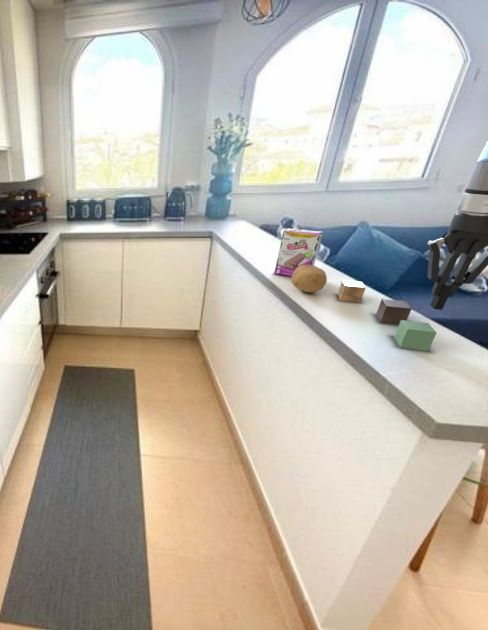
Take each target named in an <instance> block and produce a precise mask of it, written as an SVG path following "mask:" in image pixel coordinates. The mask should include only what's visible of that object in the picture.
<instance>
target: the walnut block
mask: <svg viewBox="0 0 488 630" xmlns="http://www.w3.org/2000/svg"><path fill="white" fill-rule="evenodd" d="M411 311H412V307H411V306H410V305H409V304H408V302H407V301H406V300H398V299H397V300H395V299H385V298H382V299H381V300H380V302H379V305H378V307H377V310H376V313H375V316H376V318H377V320H378V321H379V323H380V324H386V325H387V324H388V325H396V326H399V324H400V321H401V320H406V321H408V319H409V317H410V313H411Z"/></svg>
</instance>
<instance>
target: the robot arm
mask: <svg viewBox="0 0 488 630" xmlns="http://www.w3.org/2000/svg"><path fill="white" fill-rule="evenodd" d="M461 196H462V197H461V198H460V200H459V203H458V205H457V207H456V210H457V212H456V213H454V215H453V217H452V219H451V222H450V224H449V226H448V229H447V231H446V232H445V233H444V234H442V236H441V237H440V238H437V239H435V240H432V239H431V240H427V242H426V246H427V248H428V249H429V251H428V262H427V275H426V276H427V278H428V279H429V280H430V281H431V282H434V285H433V286H432V289H431V291H430V292H431V294H432V295H433V297H432V300H431V302H430V304H429V306H431V307H432V308H433V310H439V311H440V310H441V311H443V309H444V307H445V305H446V303H447V301H448V299H449V298H453V297H454V296H455V294H456V293H457V290H458V288H459V287H462V286H463V285H471V284H472V283H473V282H475V280H476V279H477V278H478V277H479V276H480V274H482V272H483V271H484V270H485V269H486V268H487V267H488V141H487V142H486V143H485V145H484V147H483V149H482V151H481V153H480V155H479V157H478V158H477V160H476V163H475V165H474V168H473V170H472V173H471V176H470V178H469V180H468V183H467V185H466V187H465V190H464V192H463V194H462V195H461ZM443 244H444V245H445V248H446V250H447V251H446V252H445V253H446V255H445V257H444V259H443V262H442V264H441V266H440V259H441V249H442V248H443ZM484 249H485V250H484ZM482 250H484V251H483V252H482V253H481V254H480V255H479V256H478V258H477V259H476V256H477V254H478V253H479V252H481V251H482ZM473 259H476V260H475V261H474V262H473ZM457 260H458V261H457ZM472 262H473V264H472ZM456 263H457V264H456ZM455 265H456V266H455ZM454 267H455V268H454ZM453 269H454V270H453ZM451 273H452V275H451ZM450 276H451V277H450ZM449 277H450V279H449ZM448 280H449V281H448Z"/></svg>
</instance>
